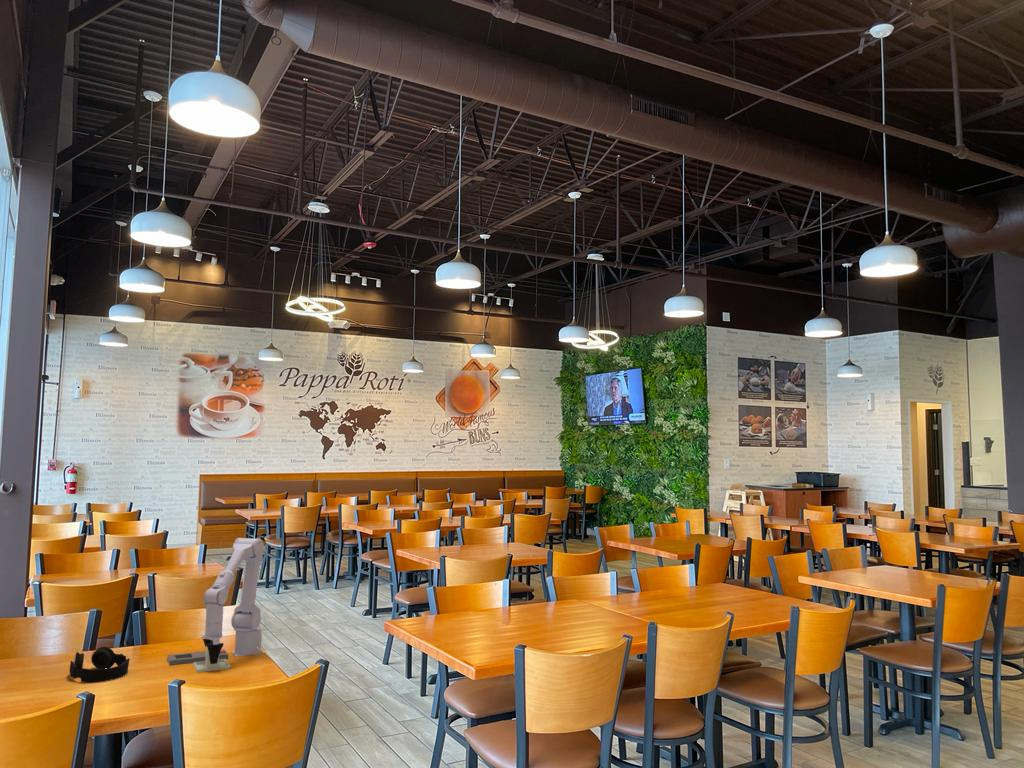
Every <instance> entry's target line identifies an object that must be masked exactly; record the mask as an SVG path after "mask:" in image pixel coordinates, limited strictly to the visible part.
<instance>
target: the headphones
mask: <svg viewBox="0 0 1024 768" xmlns="http://www.w3.org/2000/svg"><path fill="white" fill-rule="evenodd" d="M84 659H85V653H83V652H82V653H80V652H75V653H74V659H73V660H70V664H69V675H70V677H71V678H73V679H75V680H76V679H77V678H79V679H80V682H82V683H90V684H91V683H101V682H107V681H106V680H108V681H111V679H113V680H116V679H115V678H117V679H119V678H118V677H120V678H122V677H124V676H125V674H126V673H128V672H129V671H128V670H129V665H130V658H129V657H127V655H124V654H123V653H115V652H114V650H113V649H111V648H110V647H108V646H100V647H98V648H97V649H96V650H94V652H93V653H92V654H91V659H90V660H91V664H92V665H93V666H94V667H95V669H93V668H84V667H83V665H84ZM115 664H116V666H114V665H115ZM105 668H107V669H105ZM123 675H124V676H123ZM126 675H127V674H126ZM121 676H122V677H121Z"/></svg>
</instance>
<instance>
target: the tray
mask: <svg viewBox="0 0 1024 768" xmlns="http://www.w3.org/2000/svg"><path fill="white" fill-rule="evenodd" d="M227 660H228V659H220V660H219V667H215V668H206V667H205V661H202V662H193V663H192V665H193V667H194V669H195V671H196V673H204V672H212V671H222V670H230V669H231V668H232V667H231V665H230V663H229V662H228V661H227Z"/></svg>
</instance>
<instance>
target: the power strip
mask: <svg viewBox="0 0 1024 768" xmlns="http://www.w3.org/2000/svg"><path fill="white" fill-rule="evenodd" d="M219 643H221V641H220V639H219ZM205 656H206V650H203V651H193V652H185V653H175V654H167V663H168V665H169V666H177V665H185V664H193V662H202V661H205ZM220 659H226V660H229V653H228V651H226V649H225V648H222V649H221V651H220V654H219V660H220Z"/></svg>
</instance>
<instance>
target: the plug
mask: <svg viewBox="0 0 1024 768" xmlns="http://www.w3.org/2000/svg"><path fill="white" fill-rule="evenodd" d="M212 642H213V641H212ZM212 642H210V643H212ZM205 651H206V656H205V667H206V668H215V667H219V657H218V661H217V663H216V664H210V658H209V651H208V648H207V646H206V647H205Z"/></svg>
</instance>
